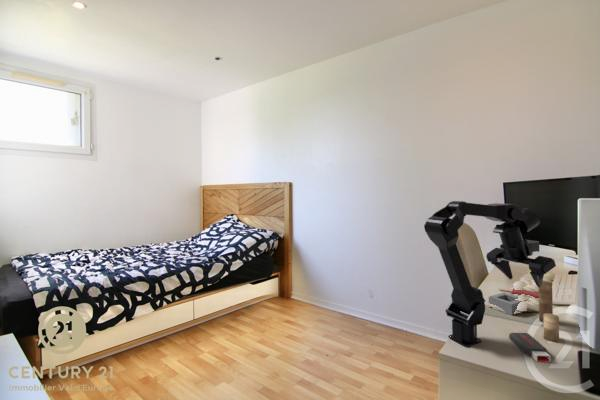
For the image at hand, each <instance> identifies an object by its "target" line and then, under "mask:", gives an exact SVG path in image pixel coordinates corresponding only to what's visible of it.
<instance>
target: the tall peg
mask: <svg viewBox="0 0 600 400" xmlns="http://www.w3.org/2000/svg"><path fill="white" fill-rule="evenodd" d="M538 293H539V298H538V316H539V317H538V319H539V322H541V323H543V324H544V318H543V314H545V313H549V314H554V313H553V311H554V309H553V302H554V301H553V283H552V281H547V280H543V281H542V286H541V287H540V288H539V287H538Z"/></svg>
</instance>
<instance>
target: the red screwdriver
mask: <svg viewBox="0 0 600 400" xmlns="http://www.w3.org/2000/svg"><path fill="white" fill-rule="evenodd" d="M514 288H515V287H513V288H512V289H504V288H497V289H498V290H501V291H506V292H511V295H514V294H518V295H517V296H520V295H521V294H525V295H530V296H533V297H535V298H534V299H539V292H537V291H532V290H526V289H522V290H515V289H514Z"/></svg>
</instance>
